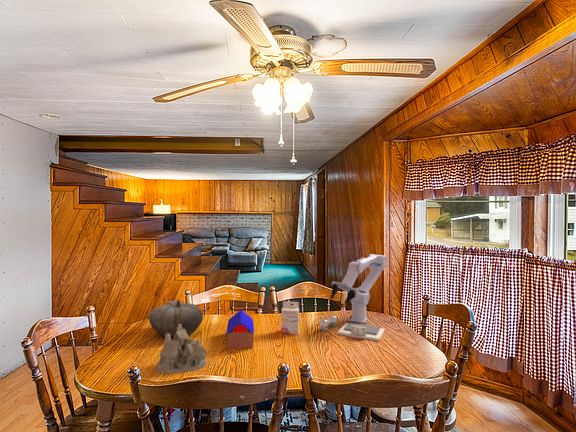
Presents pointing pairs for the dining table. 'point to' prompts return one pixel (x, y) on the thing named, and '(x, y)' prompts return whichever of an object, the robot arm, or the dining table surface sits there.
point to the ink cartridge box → (290, 318)
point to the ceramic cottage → (181, 353)
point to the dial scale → (362, 331)
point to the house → (240, 331)
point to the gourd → (175, 317)
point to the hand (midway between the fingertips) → (338, 301)
